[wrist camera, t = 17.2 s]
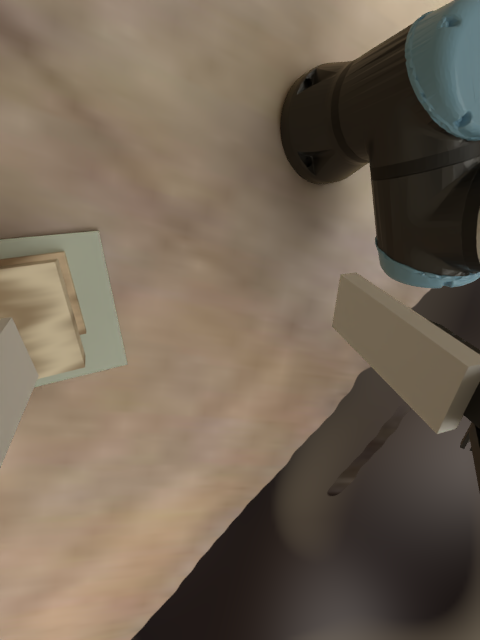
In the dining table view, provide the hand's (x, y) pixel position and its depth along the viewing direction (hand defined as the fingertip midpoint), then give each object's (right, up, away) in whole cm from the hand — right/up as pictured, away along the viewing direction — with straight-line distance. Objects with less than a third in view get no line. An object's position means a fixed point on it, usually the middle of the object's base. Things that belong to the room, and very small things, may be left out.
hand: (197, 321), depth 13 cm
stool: (-21, +6, +17) cm, 27 cm away
